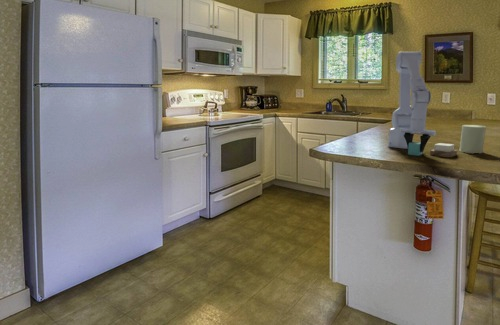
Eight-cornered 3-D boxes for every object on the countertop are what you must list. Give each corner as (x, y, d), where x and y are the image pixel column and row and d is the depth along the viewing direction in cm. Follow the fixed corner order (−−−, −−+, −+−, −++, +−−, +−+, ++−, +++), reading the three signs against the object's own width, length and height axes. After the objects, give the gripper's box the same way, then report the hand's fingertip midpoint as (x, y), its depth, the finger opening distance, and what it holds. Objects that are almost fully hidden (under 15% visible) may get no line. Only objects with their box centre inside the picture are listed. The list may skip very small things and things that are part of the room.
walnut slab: (429, 156, 157) (430, 150, 156) (436, 153, 162) (437, 148, 162) (450, 158, 151) (450, 152, 151) (456, 156, 157) (457, 150, 156)
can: (483, 154, 158) (486, 126, 156) (458, 152, 163) (461, 125, 160) (482, 151, 166) (486, 124, 163) (459, 149, 171) (462, 123, 168)
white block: (434, 150, 157) (434, 144, 156) (438, 148, 161) (439, 143, 160) (449, 152, 152) (450, 146, 152) (453, 150, 157) (454, 144, 156)
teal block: (407, 154, 158) (408, 142, 157) (412, 153, 161) (413, 141, 160) (418, 155, 155) (419, 144, 154) (422, 154, 158) (423, 142, 157)
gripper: (397, 118, 157) (394, 150, 160) (433, 121, 147) (429, 154, 150) (404, 117, 162) (401, 148, 165) (439, 120, 152) (435, 152, 155)
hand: (415, 151), depth 158 cm, fingers closed on teal block, 4 cm apart
